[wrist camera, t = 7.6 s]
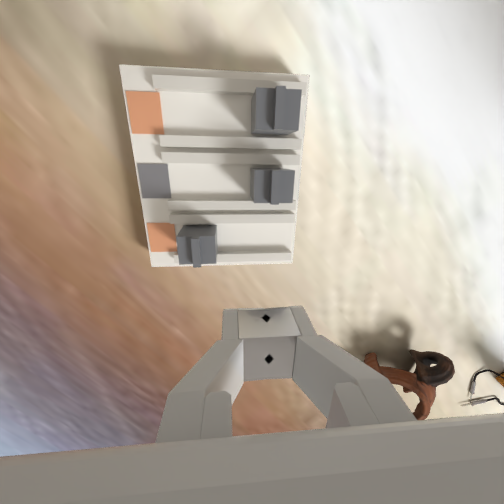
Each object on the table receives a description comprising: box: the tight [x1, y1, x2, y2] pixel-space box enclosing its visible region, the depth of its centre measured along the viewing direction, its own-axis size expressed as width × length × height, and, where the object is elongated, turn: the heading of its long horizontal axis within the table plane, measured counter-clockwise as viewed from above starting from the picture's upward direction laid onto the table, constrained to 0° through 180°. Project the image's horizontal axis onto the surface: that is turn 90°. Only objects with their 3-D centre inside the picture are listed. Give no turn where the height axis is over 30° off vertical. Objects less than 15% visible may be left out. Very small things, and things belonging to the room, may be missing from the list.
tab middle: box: [250, 168, 295, 205], centre depth 19 cm, size 3×2×4 cm
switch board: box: [119, 64, 310, 267], centre depth 21 cm, size 14×16×3 cm
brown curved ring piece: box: [364, 350, 455, 420], centre depth 32 cm, size 12×10×8 cm
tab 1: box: [176, 225, 218, 267], centre depth 20 cm, size 3×2×4 cm
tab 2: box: [251, 86, 302, 135], centre depth 17 cm, size 3×2×4 cm
